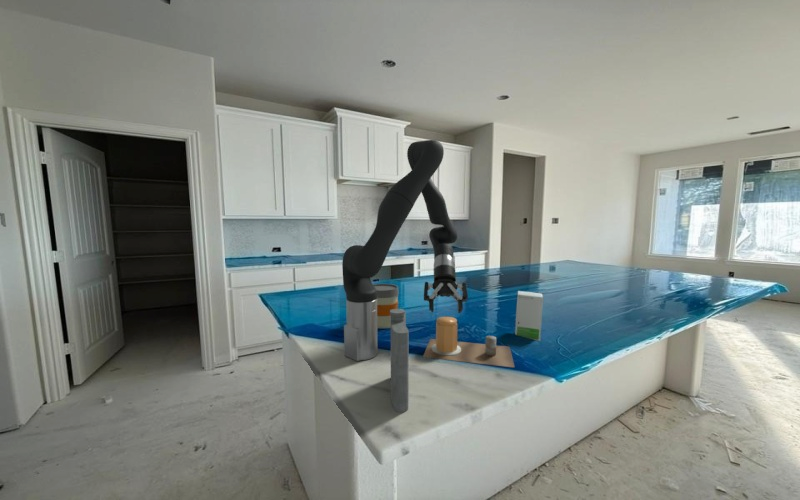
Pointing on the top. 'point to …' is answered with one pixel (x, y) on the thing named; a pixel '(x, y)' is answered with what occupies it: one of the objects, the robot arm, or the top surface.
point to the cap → (446, 334)
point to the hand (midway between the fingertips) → (445, 311)
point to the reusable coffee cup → (386, 303)
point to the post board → (474, 353)
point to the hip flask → (399, 360)
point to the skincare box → (529, 315)
